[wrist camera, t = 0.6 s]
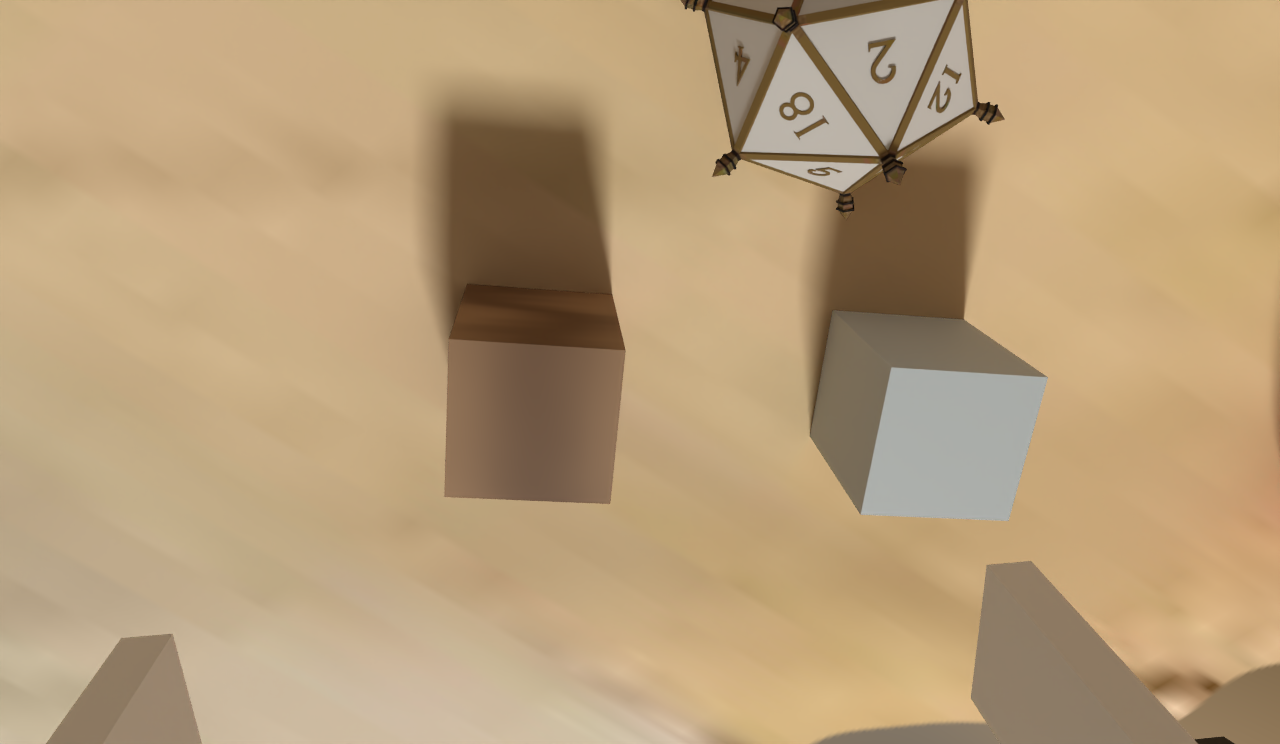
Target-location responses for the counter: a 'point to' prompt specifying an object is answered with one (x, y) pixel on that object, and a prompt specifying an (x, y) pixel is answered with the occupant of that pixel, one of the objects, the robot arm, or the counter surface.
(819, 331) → the counter surface
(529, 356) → the walnut block
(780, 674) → the counter surface
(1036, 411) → the grey-blue block
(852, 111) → the game die
